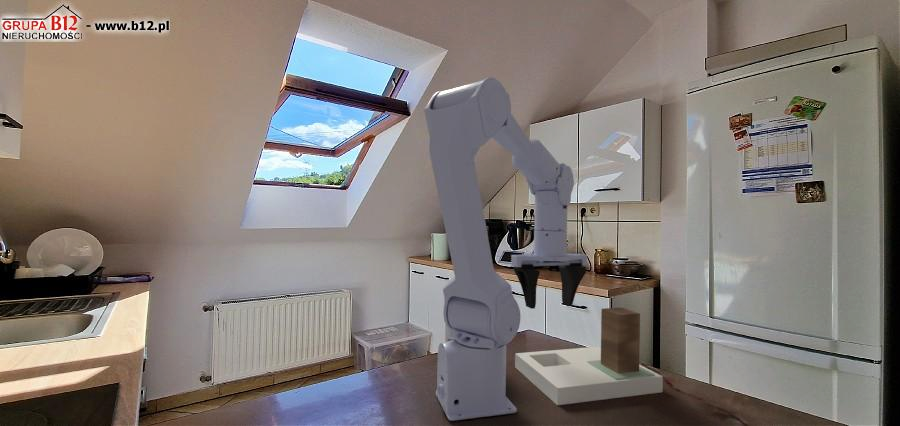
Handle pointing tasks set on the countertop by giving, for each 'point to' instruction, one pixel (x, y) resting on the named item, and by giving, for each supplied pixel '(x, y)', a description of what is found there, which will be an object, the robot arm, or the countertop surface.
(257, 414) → the countertop surface
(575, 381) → the board
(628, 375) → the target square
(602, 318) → the walnut block
